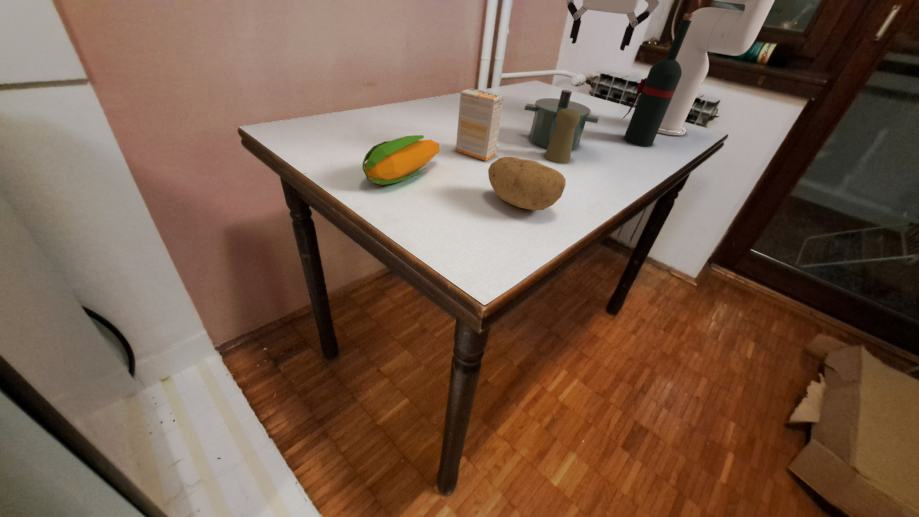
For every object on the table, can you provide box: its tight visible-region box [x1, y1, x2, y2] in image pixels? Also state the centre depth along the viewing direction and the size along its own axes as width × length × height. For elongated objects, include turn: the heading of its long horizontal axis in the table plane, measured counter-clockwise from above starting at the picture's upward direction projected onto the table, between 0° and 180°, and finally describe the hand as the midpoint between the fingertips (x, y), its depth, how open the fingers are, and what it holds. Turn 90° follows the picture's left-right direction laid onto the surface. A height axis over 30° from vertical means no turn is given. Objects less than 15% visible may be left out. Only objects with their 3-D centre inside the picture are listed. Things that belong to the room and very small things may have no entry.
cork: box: [544, 109, 580, 164], centre depth 83 cm, size 6×6×11 cm
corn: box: [361, 134, 441, 186], centre depth 69 cm, size 7×8×20 cm
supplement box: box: [455, 87, 505, 162], centre depth 80 cm, size 8×5×13 cm, turn 57°
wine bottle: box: [620, 12, 694, 148], centre depth 93 cm, size 8×10×30 cm
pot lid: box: [534, 89, 592, 117], centre depth 89 cm, size 14×14×5 cm
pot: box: [524, 103, 599, 152], centre depth 93 cm, size 13×18×8 cm
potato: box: [487, 156, 567, 211], centre depth 64 cm, size 10×14×8 cm
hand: (597, 46), depth 74 cm, fingers open, 9 cm apart
